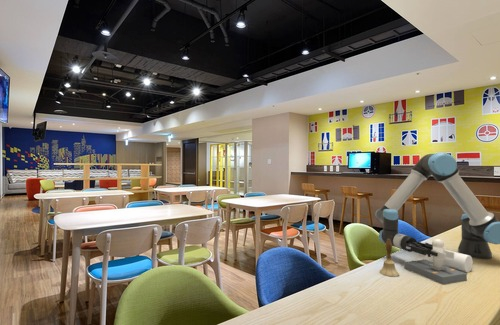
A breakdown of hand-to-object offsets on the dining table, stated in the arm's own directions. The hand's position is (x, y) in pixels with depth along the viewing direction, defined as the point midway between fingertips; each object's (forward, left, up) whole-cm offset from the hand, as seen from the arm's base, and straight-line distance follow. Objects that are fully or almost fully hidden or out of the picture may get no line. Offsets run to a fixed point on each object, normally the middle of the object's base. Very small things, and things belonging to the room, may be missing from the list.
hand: (449, 256), depth 125 cm
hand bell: (+19, -15, -11) cm, 26 cm away
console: (0, -8, -11) cm, 13 cm away
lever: (0, -5, -7) cm, 9 cm away
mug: (-19, -10, -11) cm, 24 cm away
